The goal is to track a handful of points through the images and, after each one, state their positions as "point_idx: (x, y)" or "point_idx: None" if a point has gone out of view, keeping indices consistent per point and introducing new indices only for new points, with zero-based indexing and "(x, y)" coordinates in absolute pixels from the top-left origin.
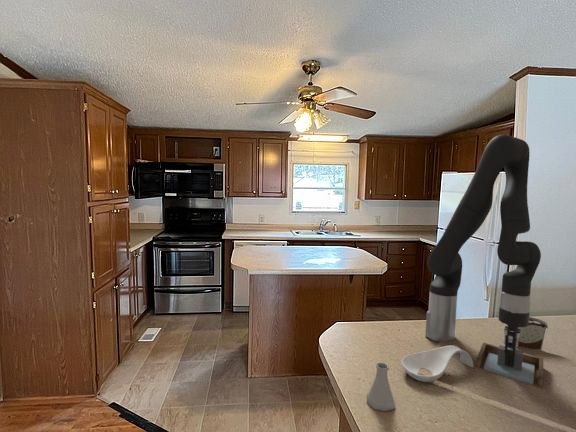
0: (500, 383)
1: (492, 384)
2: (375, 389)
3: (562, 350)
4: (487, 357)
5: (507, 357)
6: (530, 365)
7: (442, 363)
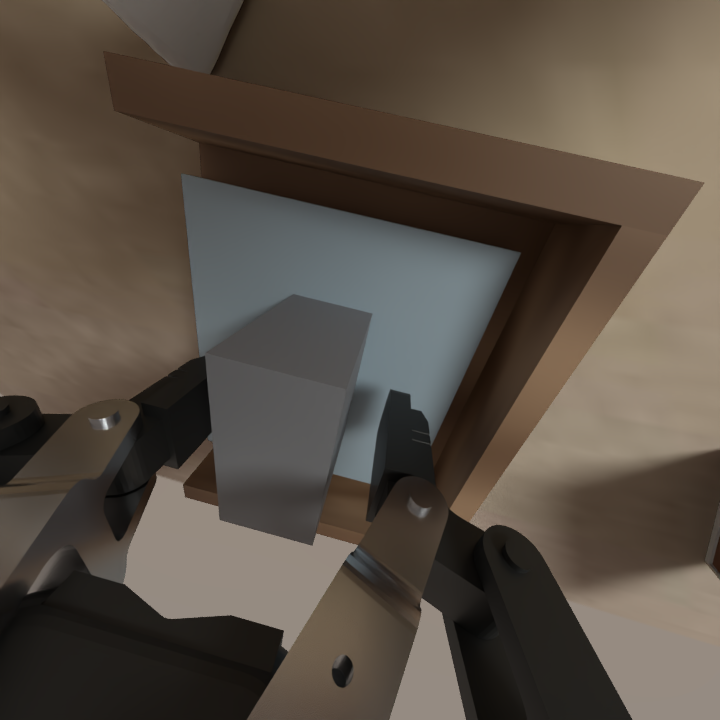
0: (158, 280)
1: (108, 231)
2: None
3: (708, 622)
4: (385, 225)
5: (145, 394)
6: None
7: None
